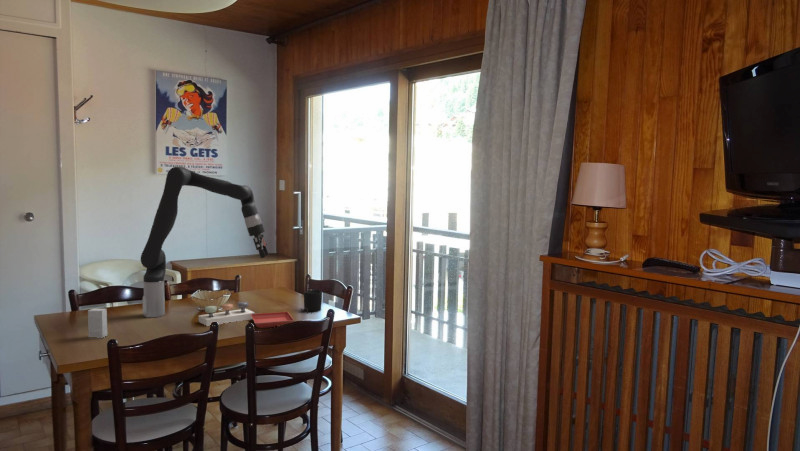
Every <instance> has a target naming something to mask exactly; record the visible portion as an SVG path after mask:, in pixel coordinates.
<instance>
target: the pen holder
mask: <svg viewBox="0 0 800 451" xmlns="http://www.w3.org/2000/svg"><path fill="white" fill-rule="evenodd" d="M322 296H323V291H322V290H319V289H310V290H309V289H308V291H303V309H304V311H305V312H308V313H317V312H320V311H321V310H322V300H323V299H322Z"/></svg>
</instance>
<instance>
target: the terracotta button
mask: <svg viewBox="0 0 800 451" xmlns="http://www.w3.org/2000/svg"><path fill="white" fill-rule="evenodd" d="M233 309H234V304H233V303H223V304H221V310H222V311H224V312H225V315H229V311H233Z"/></svg>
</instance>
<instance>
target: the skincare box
mask: <svg viewBox="0 0 800 451" xmlns="http://www.w3.org/2000/svg"><path fill="white" fill-rule="evenodd" d="M87 320H88V322H87V323H88V338H89V337H97V338H96V339H104V338H105V336H106V337H107V336H108V313H107V308H91V309H89V310H87ZM103 337H104V338H103Z"/></svg>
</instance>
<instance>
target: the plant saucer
mask: <svg viewBox="0 0 800 451" xmlns="http://www.w3.org/2000/svg"><path fill="white" fill-rule="evenodd" d="M251 316H252V318H253V319H252V320H253V322H254V324H255V326H256V327H257V328H258V329H262V328H264V329H265V328H275V326H278V325H282V324H286V323H290V322H292V323H293V322H294V321H295V319H294V318H293V317H292V315H291V314H290V313H289V311H277V312H266V313H265V312H262V313H255V314H251Z"/></svg>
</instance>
